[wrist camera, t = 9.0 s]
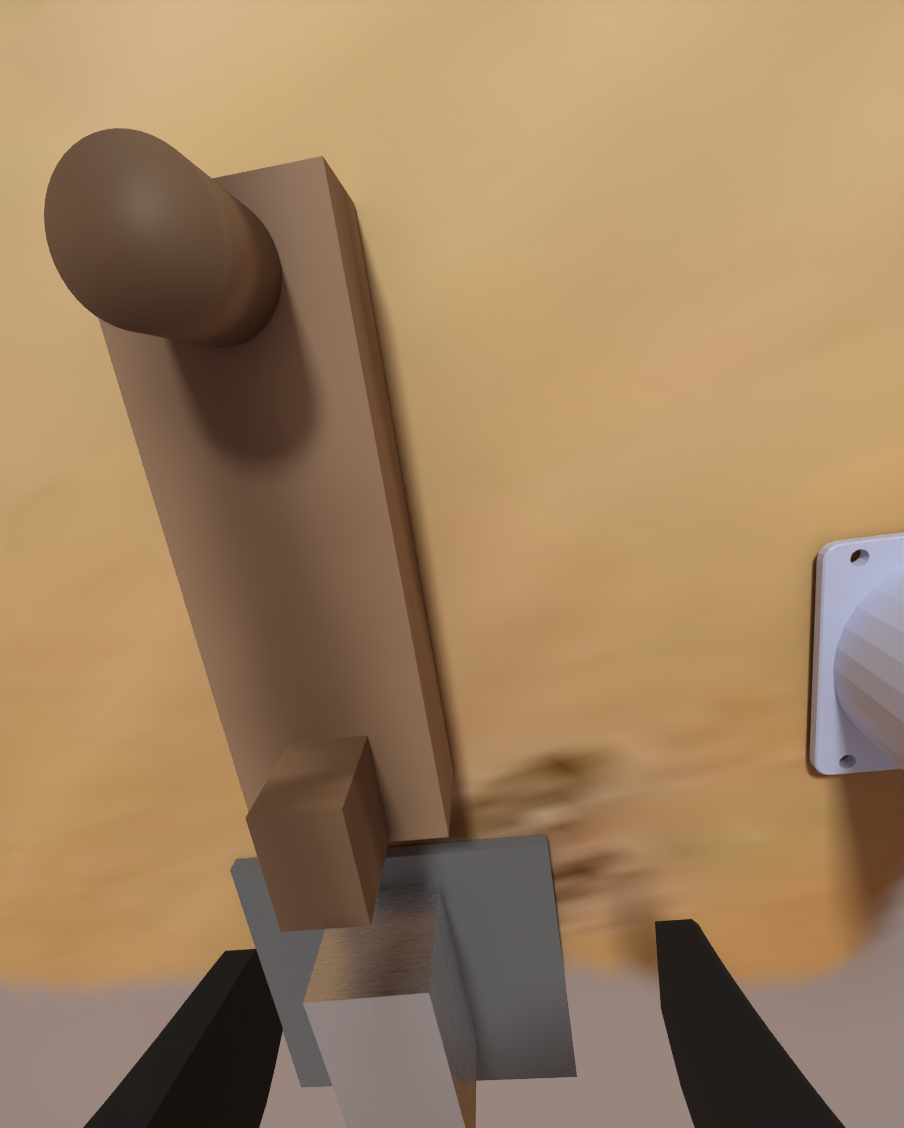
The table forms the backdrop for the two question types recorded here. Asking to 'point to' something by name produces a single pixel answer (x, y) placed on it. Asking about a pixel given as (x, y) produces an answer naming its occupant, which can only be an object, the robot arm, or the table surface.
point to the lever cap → (396, 1016)
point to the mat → (483, 945)
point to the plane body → (271, 495)
